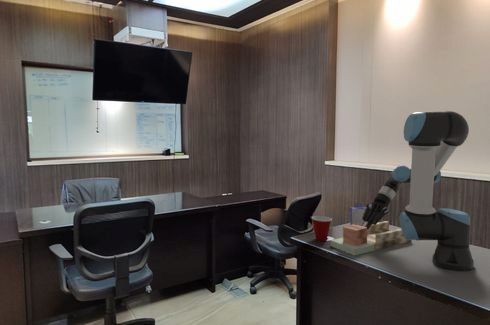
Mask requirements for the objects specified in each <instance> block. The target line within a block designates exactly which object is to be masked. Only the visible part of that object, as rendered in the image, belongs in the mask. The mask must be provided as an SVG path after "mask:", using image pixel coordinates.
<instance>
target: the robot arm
mask: <svg viewBox="0 0 490 325" xmlns="http://www.w3.org/2000/svg"><path fill="white" fill-rule="evenodd" d="M467 121H468V120H466V118H465V117H464V116H463V115H461V114H460V113H458V112H456V111H453V110H446V111H445V110H444V111H419V112H412V113H410V114H409V115H408V116H407V118H406V120H405V122H404V126H403V139H404V140H405V141H406V142H407V143H408V146H409V147H410V148H411V151H412V152H411V166H410V167H408V166H406V165H404V164H401V165H398V166H396V167H395V168H394V169H393V171H391V173H390V174H389V175H388V177H387V179H386V180H385V182H384V183H383V185H382V187H381V188H380V189H379V191H378V193H377V194H376V195H375V197H374V201H373V202H372V203H371V204H369V203H367V204H366V206H365V207H366V210H365V212H364V215H363V218H362V220H363V221H364V223H363V224H362V226H363V227H367V230H368V229H369V228H370V226H371V225H373V224H374V225H376V224H377V223H379V222H381V220H382V219H383V218H384V216H385V215H387V214H388V213H389V210H388V209H387V208H388V207H389V205H390V204H391V202H392V200H393V199H394V198H395V196H396V194H397V193H398V191H399V190H400V188H401V187H402V186H403V184H410V187H409V204H407V205H406V206H405V209H404V211H403V212H400V214H399V224H400V229H401V230H402V233H403V235H404V236H405V237H406V238H407V239H409V240H411V241H416V242H417V241H418V242H419V241H437V242H436V243H437V244H436V247H435V249H434V253H433V254H432V256H431V257H432V258H431V259H432V260H431V261H432V263H433V264H434V265H436V266H438V267H439V268H442V269H447V270H451V271H463V272H464V271H465V272H467V271H472V270H473V269H474V266H475V261H474V259H473V257H472V256H473V255H472V252H471V250H470V240H471V239H470V238H471V225H472V224H471V217H470V215H469V214H468V213H467V212H465V211H462V210H458V209H457V210H456V209H453V208H446V207H444V208H443V207H441V208H438V209H437V210H436V209H435V208H434V207H433V199H434V197H433V196H434V184H436V183H439V182H440V181H441V178H442V171H441V170H442V168H443V167H444V166H445V164H446V163H447V161H449V159H450V157H451V156H452V155H453V153H454V152H455V150H456V149H457V148H458V147H460V146H462V145H463V144H464V142H465V141H466V140H467V138H468V136H469V132H470V130H469V129H470V128H469V123H468V122H467Z"/></svg>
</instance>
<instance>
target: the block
mask: <svg viewBox="0 0 490 325" xmlns="http://www.w3.org/2000/svg"><path fill="white" fill-rule="evenodd" d="M342 231H343V232H342V238H343V242H345V243H349V244H352V245H355V246H358V245H361V244H364V243H367V227H363V226H359V225H355V224H353V225H350V224H349V225H346V226H343V227H342Z"/></svg>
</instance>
